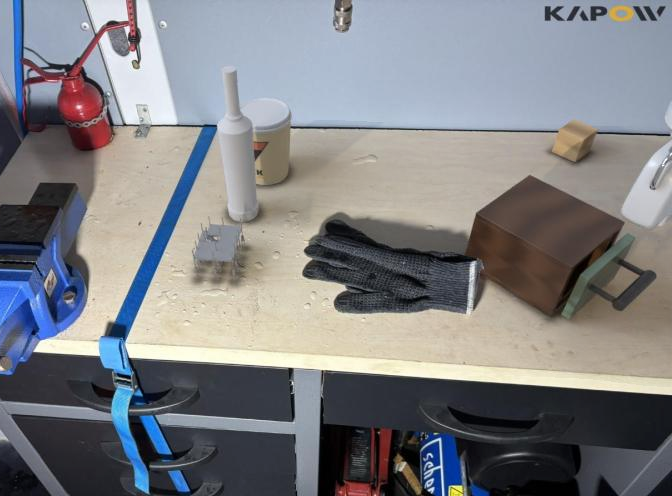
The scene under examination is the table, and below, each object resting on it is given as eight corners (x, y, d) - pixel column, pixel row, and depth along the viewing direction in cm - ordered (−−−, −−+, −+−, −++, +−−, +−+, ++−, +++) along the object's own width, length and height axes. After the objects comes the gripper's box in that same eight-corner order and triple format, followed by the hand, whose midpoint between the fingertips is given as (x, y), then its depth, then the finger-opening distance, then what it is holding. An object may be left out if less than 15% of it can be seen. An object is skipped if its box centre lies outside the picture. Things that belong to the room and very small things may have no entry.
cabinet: (599, 272, 87) (625, 221, 80) (549, 317, 82) (572, 267, 75) (513, 224, 95) (529, 174, 88) (462, 262, 90) (475, 212, 83)
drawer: (647, 296, 83) (672, 255, 77) (602, 340, 78) (626, 300, 72) (530, 232, 92) (545, 191, 87) (484, 267, 88) (497, 227, 82)
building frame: (195, 280, 90) (189, 251, 86) (206, 244, 95) (201, 214, 91) (236, 283, 89) (232, 253, 85) (245, 246, 95) (242, 217, 90)
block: (565, 141, 109) (574, 119, 106) (589, 152, 107) (598, 129, 104) (551, 151, 108) (559, 129, 104) (574, 162, 105) (583, 139, 102)
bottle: (258, 222, 98) (246, 77, 80) (227, 223, 99) (208, 79, 80) (259, 202, 102) (248, 59, 83) (229, 203, 102) (211, 60, 84)
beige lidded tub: (230, 171, 108) (223, 110, 99) (271, 150, 112) (267, 90, 103) (262, 195, 103) (257, 133, 94) (303, 173, 107) (303, 112, 98)
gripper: (704, 167, 54) (640, 276, 64) (797, 86, 62) (727, 194, 72) (635, 138, 57) (585, 246, 67) (732, 65, 65) (674, 171, 76)
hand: (659, 218), depth 70 cm, fingers closed
